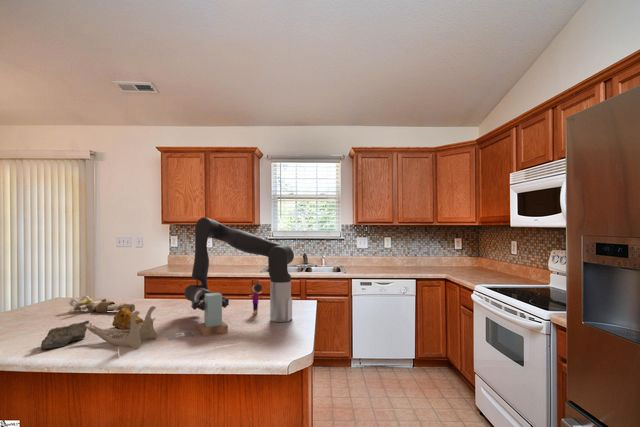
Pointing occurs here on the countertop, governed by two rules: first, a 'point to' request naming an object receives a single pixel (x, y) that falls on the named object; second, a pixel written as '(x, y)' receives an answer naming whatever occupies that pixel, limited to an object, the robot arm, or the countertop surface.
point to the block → (213, 309)
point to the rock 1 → (64, 335)
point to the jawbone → (128, 332)
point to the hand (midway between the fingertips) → (214, 306)
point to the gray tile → (179, 335)
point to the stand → (213, 329)
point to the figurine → (99, 305)
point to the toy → (256, 297)
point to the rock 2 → (125, 319)
